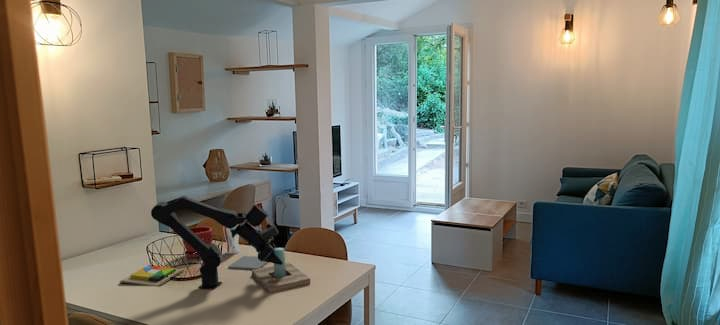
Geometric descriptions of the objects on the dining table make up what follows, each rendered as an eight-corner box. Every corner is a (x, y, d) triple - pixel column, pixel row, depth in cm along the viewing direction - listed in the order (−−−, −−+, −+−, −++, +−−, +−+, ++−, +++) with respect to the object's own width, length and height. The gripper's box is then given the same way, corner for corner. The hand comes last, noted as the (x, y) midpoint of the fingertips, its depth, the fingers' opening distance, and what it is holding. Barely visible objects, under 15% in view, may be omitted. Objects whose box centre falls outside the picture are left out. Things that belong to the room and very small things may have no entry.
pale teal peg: (283, 281, 194) (281, 251, 192) (272, 280, 195) (270, 250, 193) (287, 277, 198) (286, 247, 196) (277, 276, 199) (275, 247, 197)
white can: (242, 249, 236) (240, 218, 234) (237, 254, 229) (235, 222, 227) (228, 249, 237) (226, 218, 235) (223, 254, 230) (220, 222, 228)
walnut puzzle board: (310, 283, 191) (310, 278, 190) (269, 292, 183) (269, 287, 183) (289, 267, 210) (289, 262, 210) (252, 274, 202) (251, 270, 202)
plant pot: (208, 259, 224) (206, 232, 223) (179, 259, 225) (177, 233, 223) (217, 249, 237) (215, 225, 236) (190, 250, 238) (187, 226, 236)
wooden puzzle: (161, 287, 194) (160, 278, 193) (118, 285, 197) (117, 276, 197) (185, 271, 210) (185, 263, 210) (145, 270, 214) (144, 262, 214)
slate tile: (258, 270, 207) (258, 268, 207) (228, 268, 211) (227, 266, 211) (272, 259, 221) (272, 257, 221) (243, 257, 224) (243, 255, 224)
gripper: (264, 225, 183) (297, 251, 187) (264, 213, 201) (294, 237, 205) (244, 248, 183) (277, 274, 186) (246, 234, 201) (275, 258, 205)
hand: (281, 260), depth 196 cm, fingers open, 9 cm apart
